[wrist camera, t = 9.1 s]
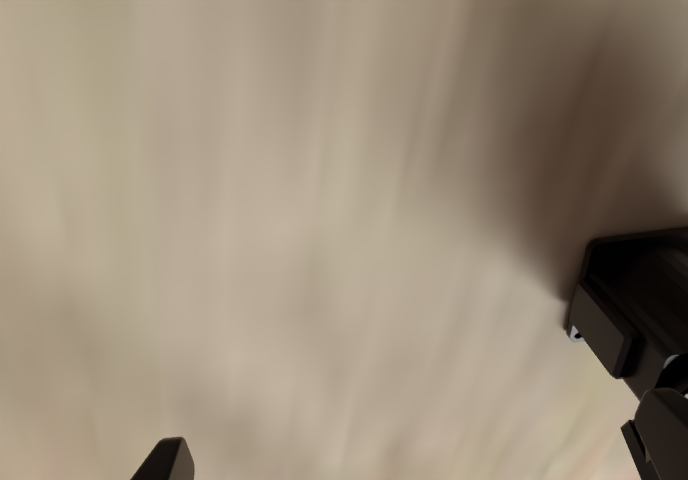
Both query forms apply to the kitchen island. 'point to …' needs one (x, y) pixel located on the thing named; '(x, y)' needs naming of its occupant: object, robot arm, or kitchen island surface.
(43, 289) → the kitchen island surface
